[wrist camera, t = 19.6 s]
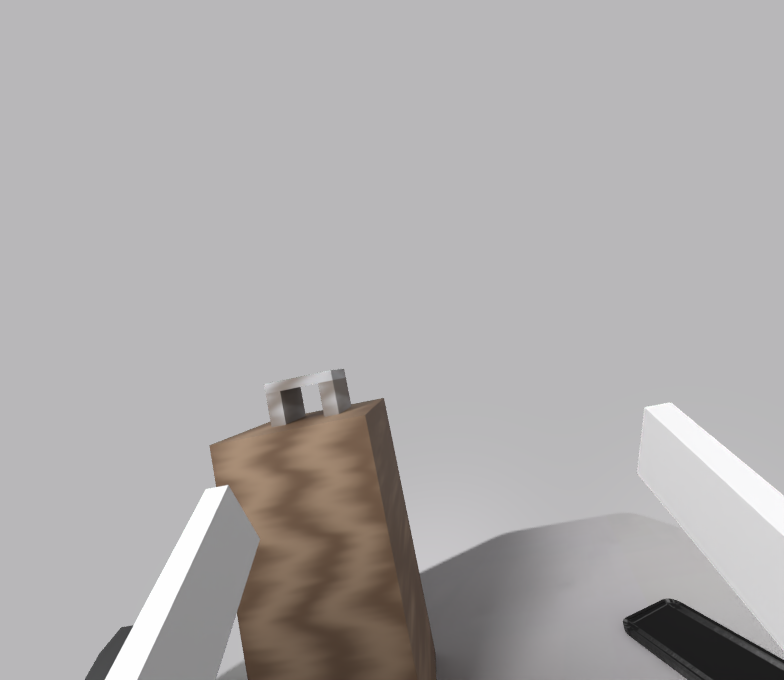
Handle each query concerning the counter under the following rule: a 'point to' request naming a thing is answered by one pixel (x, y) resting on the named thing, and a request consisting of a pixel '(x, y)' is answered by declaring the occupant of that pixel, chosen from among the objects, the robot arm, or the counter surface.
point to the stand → (326, 542)
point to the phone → (700, 645)
